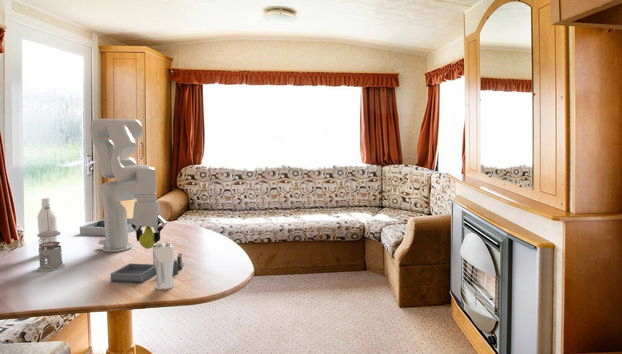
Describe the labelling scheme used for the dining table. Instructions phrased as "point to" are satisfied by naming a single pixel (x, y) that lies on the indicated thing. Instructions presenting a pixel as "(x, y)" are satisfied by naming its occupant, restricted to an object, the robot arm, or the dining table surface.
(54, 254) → the french press
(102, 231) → the tray
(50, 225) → the water bottle
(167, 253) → the beer glass
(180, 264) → the clip
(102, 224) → the pipe connector
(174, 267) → the clip
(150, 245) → the fruit
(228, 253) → the dining table surface
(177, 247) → the dining table surface
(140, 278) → the grey square tray
